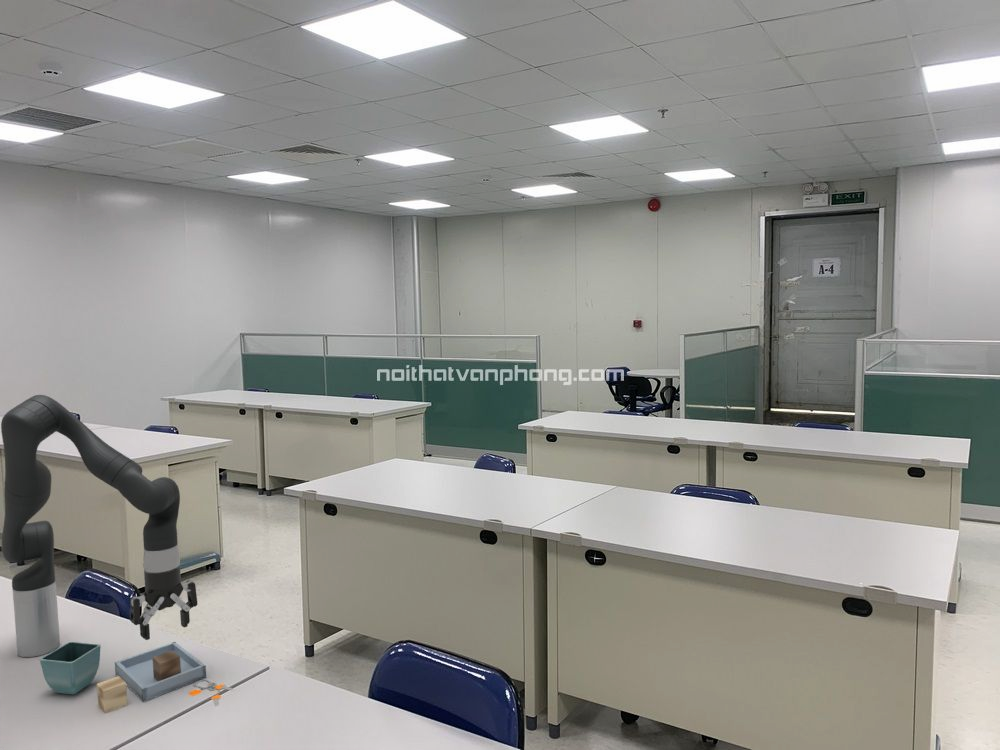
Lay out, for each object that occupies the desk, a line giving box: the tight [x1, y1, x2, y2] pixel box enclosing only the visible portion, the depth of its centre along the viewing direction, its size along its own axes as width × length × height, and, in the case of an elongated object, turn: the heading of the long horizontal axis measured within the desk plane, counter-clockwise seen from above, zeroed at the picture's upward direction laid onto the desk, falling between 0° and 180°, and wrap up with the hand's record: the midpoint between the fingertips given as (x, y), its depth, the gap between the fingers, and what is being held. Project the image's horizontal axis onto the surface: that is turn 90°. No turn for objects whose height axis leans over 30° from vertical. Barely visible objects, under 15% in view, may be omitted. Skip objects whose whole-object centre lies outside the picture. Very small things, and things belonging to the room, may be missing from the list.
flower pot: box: [39, 641, 102, 695], centre depth 160 cm, size 9×9×9 cm
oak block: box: [96, 676, 128, 714], centre depth 153 cm, size 4×4×5 cm
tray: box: [114, 641, 207, 703], centre depth 165 cm, size 18×14×3 cm
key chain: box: [188, 678, 235, 707], centre depth 158 cm, size 13×7×1 cm, turn 58°
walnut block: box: [153, 651, 181, 681], centre depth 162 cm, size 4×4×5 cm
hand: (165, 632), depth 162 cm, fingers open, 8 cm apart
